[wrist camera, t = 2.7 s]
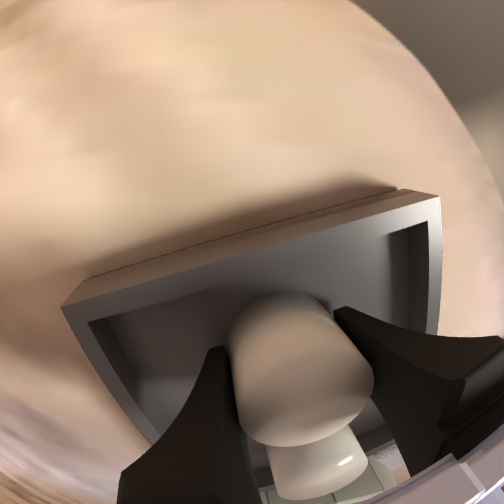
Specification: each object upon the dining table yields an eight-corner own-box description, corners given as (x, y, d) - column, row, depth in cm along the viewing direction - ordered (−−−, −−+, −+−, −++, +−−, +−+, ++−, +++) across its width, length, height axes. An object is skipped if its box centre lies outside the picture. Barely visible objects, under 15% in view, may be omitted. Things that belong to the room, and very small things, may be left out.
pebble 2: (337, 386, 13) (370, 441, 10) (341, 431, 15) (365, 478, 11) (253, 413, 13) (268, 477, 9) (271, 454, 15) (285, 507, 11)
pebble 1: (323, 276, 11) (374, 327, 8) (335, 360, 13) (372, 418, 9) (212, 310, 11) (218, 379, 7) (243, 390, 12) (257, 458, 9)
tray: (403, 188, 12) (440, 196, 10) (400, 409, 17) (416, 431, 15) (83, 280, 11) (60, 307, 8) (205, 473, 16) (207, 501, 13)
